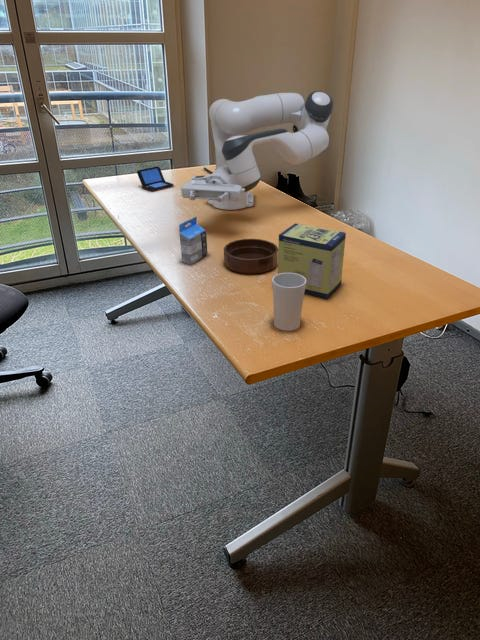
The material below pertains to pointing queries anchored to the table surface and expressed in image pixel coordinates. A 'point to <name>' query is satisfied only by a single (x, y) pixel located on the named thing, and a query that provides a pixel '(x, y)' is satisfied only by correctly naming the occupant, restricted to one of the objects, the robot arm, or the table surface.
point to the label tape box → (192, 241)
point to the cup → (288, 300)
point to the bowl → (250, 255)
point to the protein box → (313, 257)
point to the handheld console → (152, 179)
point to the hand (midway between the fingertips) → (205, 198)
